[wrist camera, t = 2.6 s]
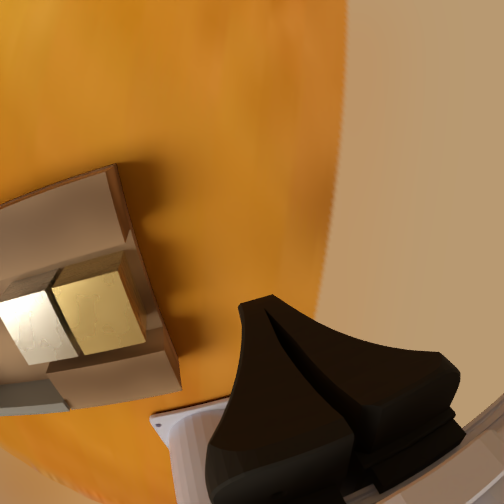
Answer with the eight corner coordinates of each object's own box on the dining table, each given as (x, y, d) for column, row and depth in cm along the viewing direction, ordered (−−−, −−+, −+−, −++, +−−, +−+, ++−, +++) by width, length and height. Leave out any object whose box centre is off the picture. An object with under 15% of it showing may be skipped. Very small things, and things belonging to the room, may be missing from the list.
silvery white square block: (86, 329, 16) (78, 356, 14) (39, 339, 15) (28, 365, 13) (58, 268, 14) (44, 290, 12) (11, 282, 14) (-6, 304, 11)
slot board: (178, 358, 19) (182, 391, 17) (-11, 389, 16) (-22, 415, 14) (116, 163, 14) (104, 170, 11) (-86, 248, 11) (-110, 266, 8)
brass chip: (146, 314, 17) (146, 342, 14) (92, 327, 16) (84, 355, 14) (123, 250, 15) (117, 270, 13) (64, 266, 14) (51, 288, 12)
